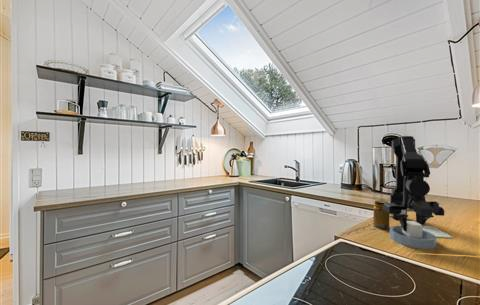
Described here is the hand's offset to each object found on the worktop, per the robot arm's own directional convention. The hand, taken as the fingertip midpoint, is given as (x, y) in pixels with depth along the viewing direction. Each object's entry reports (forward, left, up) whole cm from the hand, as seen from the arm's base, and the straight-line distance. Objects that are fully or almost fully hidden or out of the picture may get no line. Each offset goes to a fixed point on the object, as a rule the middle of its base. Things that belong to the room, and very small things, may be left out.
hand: (411, 231), depth 86 cm
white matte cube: (0, 0, -1) cm, 1 cm away
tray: (-10, +12, -4) cm, 16 cm away
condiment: (-13, -4, -4) cm, 14 cm away
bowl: (0, 0, -4) cm, 4 cm away
